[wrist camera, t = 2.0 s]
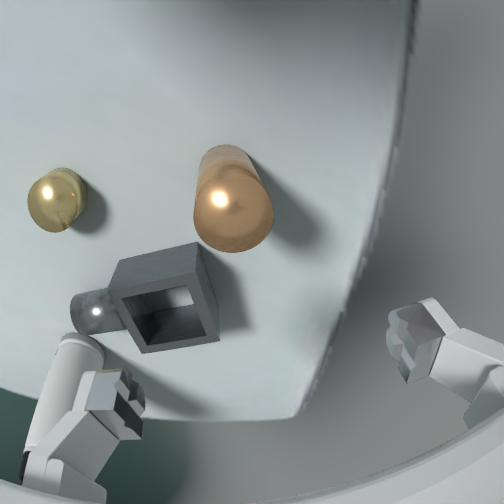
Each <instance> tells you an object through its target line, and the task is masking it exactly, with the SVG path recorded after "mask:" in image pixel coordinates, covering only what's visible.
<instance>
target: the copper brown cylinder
mask: <svg viewBox="0 0 504 504" xmlns="http://www.w3.org/2000/svg"><path fill="white" fill-rule="evenodd" d="M193 218H194V225H195V229H196V231H197V233H198V235H199V236H200V238H201V239H202V240H203V241H204V242H205V243H206V244H207V245H209V246H210V247H212V248H214V249H216V250H219V251H222V252H227V253H237V252H243V251H246V250H249V249H251V248H253V247H255V246H257V245H258V244H259V243H261V242H262V241H263V240H264V239H265V237H266V236H267V235H268V233H269V232H270V230H271V227H272V225H273V220H274V209H273V205H272V202H271V200H270V198H269V196H268V194H267V192H266V190H265V188H264V186H263V184H262V182H261V180H260V178H259V176H258V174H257V172H256V170H255V168H254V166H253V164H252V162H251V160H250V159H249V157H248V155H247V154H246V153H245V152H244V151H243V150H242V149H240V148H238V147H236V146H233V145H219V146H216V147H214V148H212V149H210V150H209V151H208V152H207V153H206V154H205V155H204V157H203V158H202V160H201V163H200V168H199V175H198V183H197V190H196V198H195V206H194V216H193Z"/></svg>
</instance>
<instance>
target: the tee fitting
mask: <svg viewBox="0 0 504 504" xmlns="http://www.w3.org/2000/svg"><path fill="white" fill-rule="evenodd" d="M183 285H187V286H188V289H189V291H190V294H191V297H192V299H193V302H194V304H193V305H188V306H183V307H178V308H173V309H167V310H162V311H157V312H153V311H152V309H151V307H150V305H149V303H148V300H147V298H146V296H145V294H144V293H149V292H154V291H159V290H164V289H169V288H173V287H178V286H183ZM70 314H71V319H72V322H73V325H74V327H75V329H76V330H77V331H78V333H80V334H81V335H83V336H87V335H93V334H100V333H107V332H113V331H119V330H125V329H128V331H129V333H130V335H131V336H132V338H133V340H134V341H135V343H136V345H137V346H138V348H139V350H140V351H141V353H142V354H145V353H152V352H158V351H165V350H171V349H177V348H183V347H189V346H195V345H200V344H206V343H211V342H217V341H220V333H219V317H218V306H217V303H216V300H215V297H214V293H213V290H212V287H211V284H210V281H209V278H208V275H207V272H206V268H205V265H204V262H203V259H202V256H201V252H200V249H199V246H198V243H197V242H194V243H190V244H186V245H181V246H177V247H173V248H169V249H164V250H160V251H156V252H152V253H147V254H143V255H139V256H135V257H131V258H127V259H122V260H119V263H118V265H117V267H116V270H115V272H114V274H113V277H112V279H111V281H110V284H109V286H108V288H104V289H99V290H95V291H90V292H85V293H81V294H76V295H75V296H74V297H73V298H72V300H71V304H70Z"/></svg>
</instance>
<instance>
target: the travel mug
mask: <svg viewBox="0 0 504 504" xmlns="http://www.w3.org/2000/svg"><path fill="white" fill-rule="evenodd" d="M104 360H105V353H104V351H103V349H102V347H101V346H100V345H99V344H98V343H97V342H96V341H95V340H93V339H92V338H90V337H88V336H83V335H81V334H79V333H70V334H67V335H65V336H63V338H62V339H61V342H60V344H59V347H58V349H57V351H56V354H55V356H54V359H53V362H52V364H51V367H50V369H49V372H48V375H47V377H46V380H45V383H44V386H43V389H42V392H41V395H40V398H39V401H38V404H37V407H36V410H35V413H34V416H33V420H32V423H31V427H30V430H29V433H28V437H27V441H26V444H25V447H26V448H25V449H24V454H23V461H22V463H21V467H20V472H19V479H20V480H21V484H22V483H23V478H24V473H25V469H26V465H27V461H28V457H29V453H30V452H31V451H32V450H33V449H34V448H35V447H36V446H37V445H38V444H39V442H40V441H41V440H42V439H43V438H44V437H45V436H46V435H47V434H48V433H49V432H50V430H51V429H52V428H53V427H54V426H55V425H56V424H57V423H58V422H59V421H60V420H61V419H62V418H63V416H64V415H65V414H66V413H67V412H68V411H72V409H73V405H74V402H75V398H76V395H77V391H78V388H79V385H80V381H81V378H82V375H83V374H84V373H85V372H86V371H96V370H102V367H103V364H104Z"/></svg>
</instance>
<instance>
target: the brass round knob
mask: <svg viewBox="0 0 504 504" xmlns="http://www.w3.org/2000/svg"><path fill="white" fill-rule="evenodd" d="M86 201H87V191H86V187H85V184H84V182H83V180H82V179H81V177H80V176H79V175H78V174H77V173H76V172H74V171H72V170H70V169H67V168H57V169H54V170H53V171H51V172H49V173H48V174H46V175H45V176H44V177H42V178H41V179H39V180H38V181H36V182H35V183H34V184H33V185H32V187H31V189H30V191H29V194H28V209H29V212H30V215H31V217H32V218H33V220H34V221H35V223H36V224H37V225H38V226H39V227H41V228H42V229H44V230H46V231H49V232H55V233H56V232H61V231H64V230H65V229H67V228H68V227H69V226H70V225H71V224H72V222H73V221H74V220H75V219H76V218H77V217H78V215H79V214H80V213H81V212H82V211H83V209H84V207H85V205H86Z"/></svg>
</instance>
